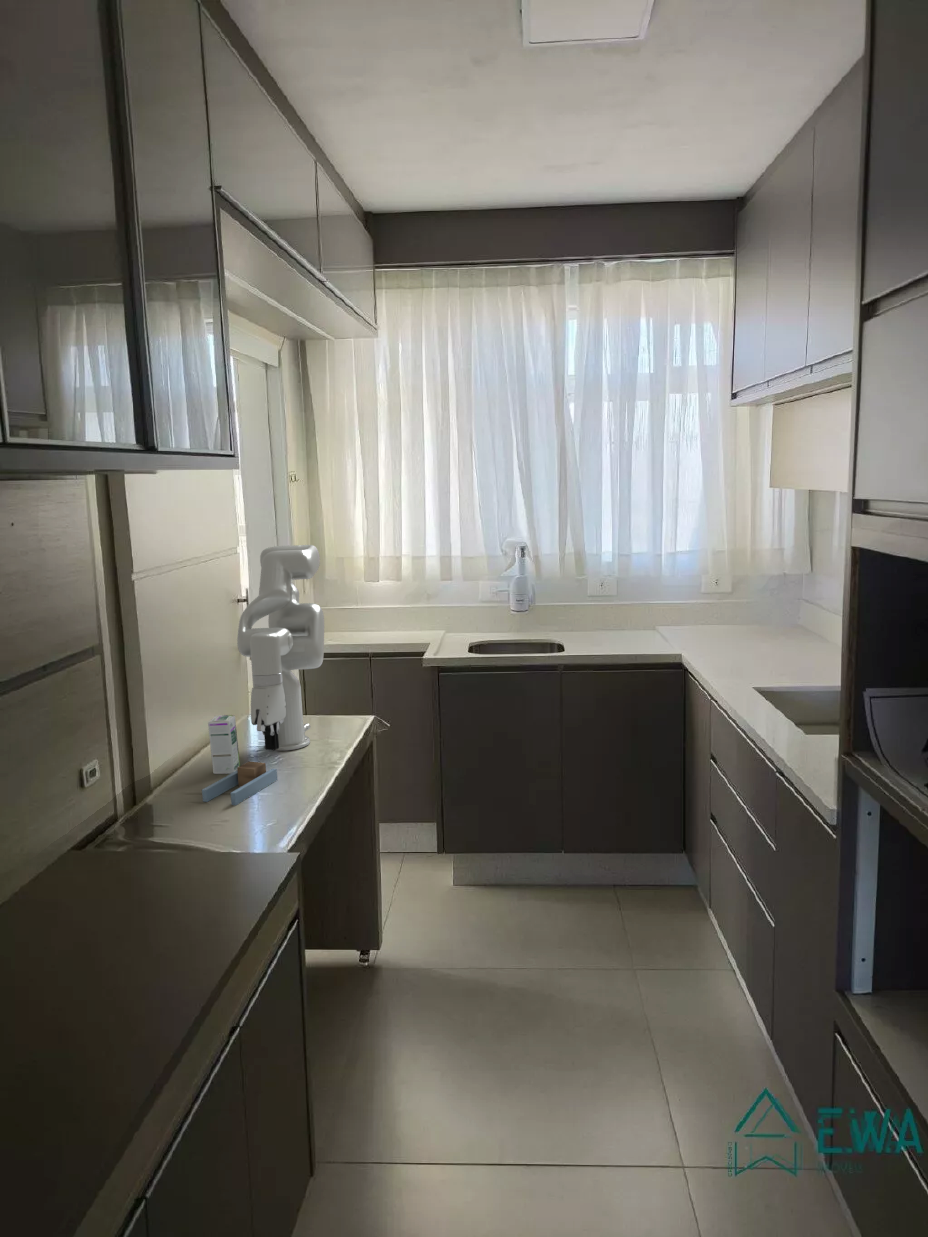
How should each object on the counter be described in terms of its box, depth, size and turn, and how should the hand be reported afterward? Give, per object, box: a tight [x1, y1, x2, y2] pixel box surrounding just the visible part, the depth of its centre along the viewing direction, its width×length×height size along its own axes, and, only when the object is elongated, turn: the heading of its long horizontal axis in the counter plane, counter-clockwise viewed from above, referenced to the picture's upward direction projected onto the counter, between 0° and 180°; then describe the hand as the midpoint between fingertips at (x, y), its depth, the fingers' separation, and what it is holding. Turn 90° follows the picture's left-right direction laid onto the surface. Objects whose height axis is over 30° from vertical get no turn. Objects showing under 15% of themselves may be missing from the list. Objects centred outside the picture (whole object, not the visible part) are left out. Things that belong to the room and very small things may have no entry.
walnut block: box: [236, 760, 267, 788], centre depth 227 cm, size 5×5×5 cm
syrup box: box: [207, 714, 241, 775], centre depth 237 cm, size 6×6×14 cm
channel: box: [201, 768, 278, 806], centre depth 222 cm, size 18×9×3 cm, turn 159°
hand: (272, 748), depth 234 cm, fingers closed
